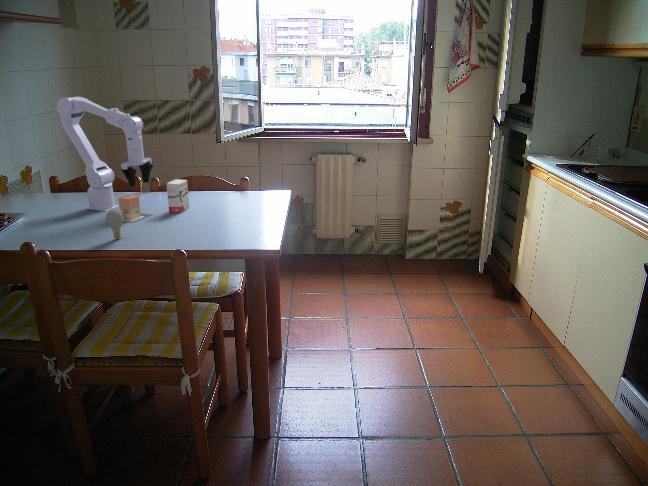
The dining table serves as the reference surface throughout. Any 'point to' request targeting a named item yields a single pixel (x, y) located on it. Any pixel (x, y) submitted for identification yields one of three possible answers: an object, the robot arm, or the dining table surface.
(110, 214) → the light bulb
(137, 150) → the robot arm
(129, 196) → the terracotta block
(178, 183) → the ink box
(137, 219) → the grey flat panel
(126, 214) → the beech block
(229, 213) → the dining table surface
